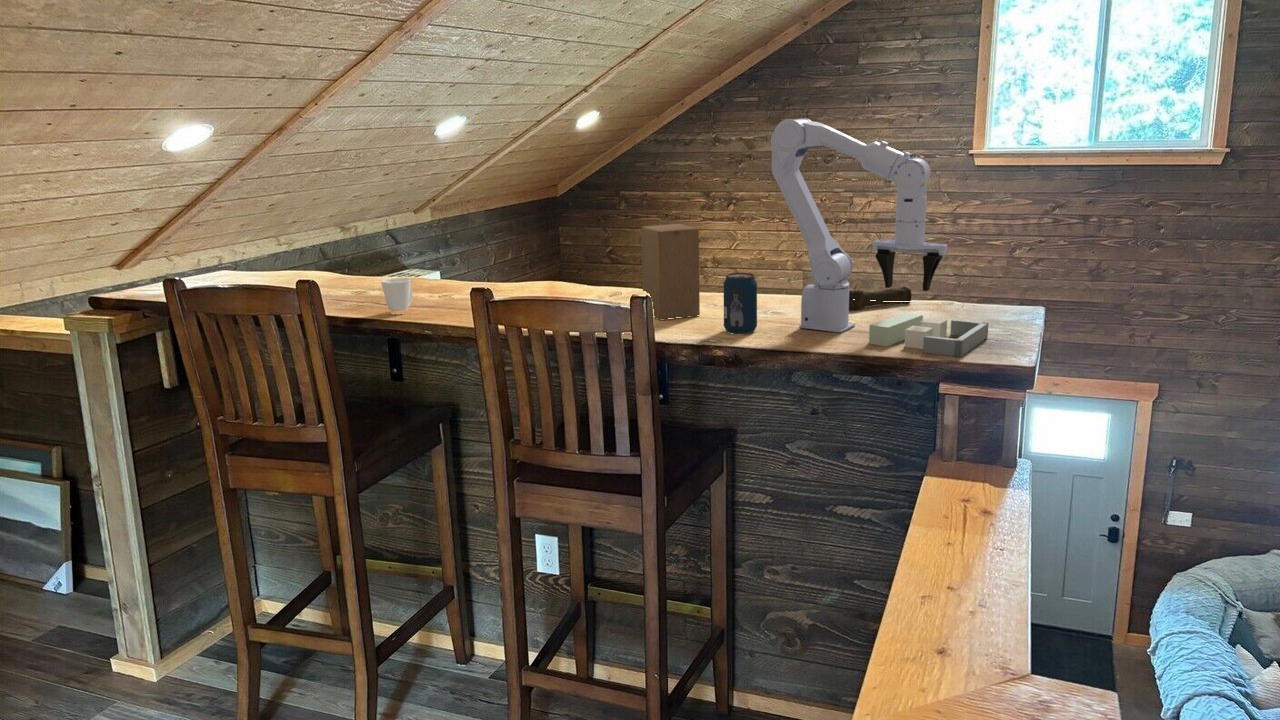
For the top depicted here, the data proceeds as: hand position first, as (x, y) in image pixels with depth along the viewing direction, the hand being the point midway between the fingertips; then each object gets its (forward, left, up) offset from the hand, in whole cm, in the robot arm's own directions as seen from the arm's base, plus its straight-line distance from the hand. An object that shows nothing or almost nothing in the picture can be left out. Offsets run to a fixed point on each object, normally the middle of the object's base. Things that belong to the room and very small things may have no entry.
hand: (907, 288), depth 193 cm
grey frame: (+12, -4, -9) cm, 15 cm away
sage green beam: (0, -4, -10) cm, 11 cm away
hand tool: (-15, +22, -10) cm, 29 cm away
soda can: (-30, -14, -10) cm, 35 cm away
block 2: (+6, 0, -10) cm, 11 cm away
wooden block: (-52, -7, -10) cm, 54 cm away
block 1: (+6, -8, -10) cm, 14 cm away
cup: (-111, -35, -10) cm, 117 cm away
